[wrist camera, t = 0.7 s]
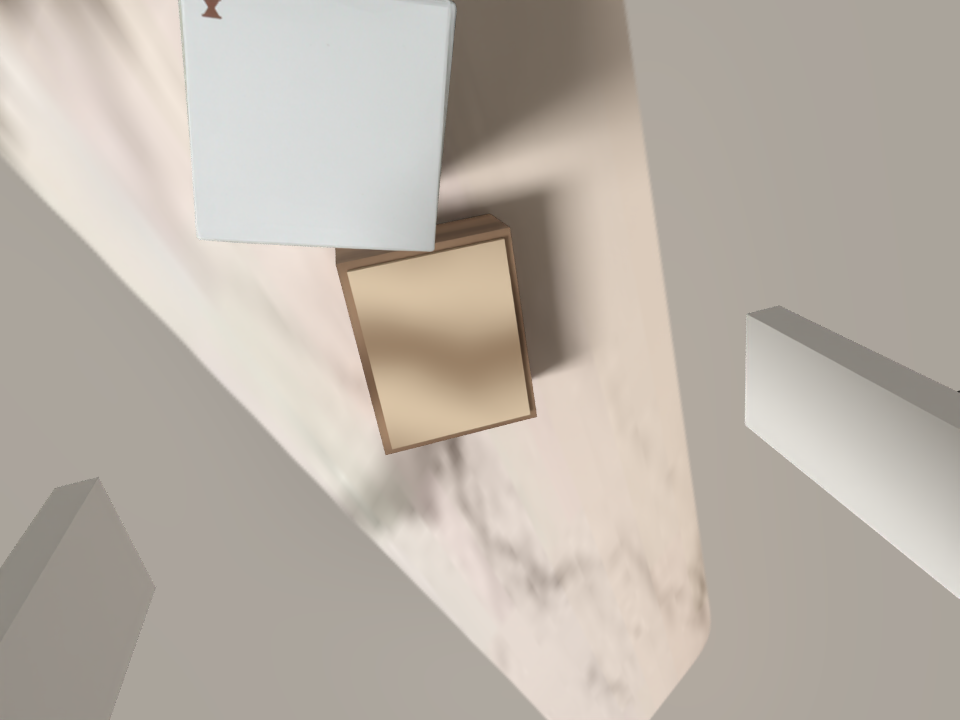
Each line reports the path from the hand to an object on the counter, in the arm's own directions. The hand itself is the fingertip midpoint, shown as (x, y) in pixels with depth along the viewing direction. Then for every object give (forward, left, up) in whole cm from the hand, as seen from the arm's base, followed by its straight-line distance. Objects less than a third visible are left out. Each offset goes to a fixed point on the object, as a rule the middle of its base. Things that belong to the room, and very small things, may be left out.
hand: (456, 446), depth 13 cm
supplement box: (-6, -1, -21) cm, 22 cm away
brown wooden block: (+5, +2, -21) cm, 22 cm away
